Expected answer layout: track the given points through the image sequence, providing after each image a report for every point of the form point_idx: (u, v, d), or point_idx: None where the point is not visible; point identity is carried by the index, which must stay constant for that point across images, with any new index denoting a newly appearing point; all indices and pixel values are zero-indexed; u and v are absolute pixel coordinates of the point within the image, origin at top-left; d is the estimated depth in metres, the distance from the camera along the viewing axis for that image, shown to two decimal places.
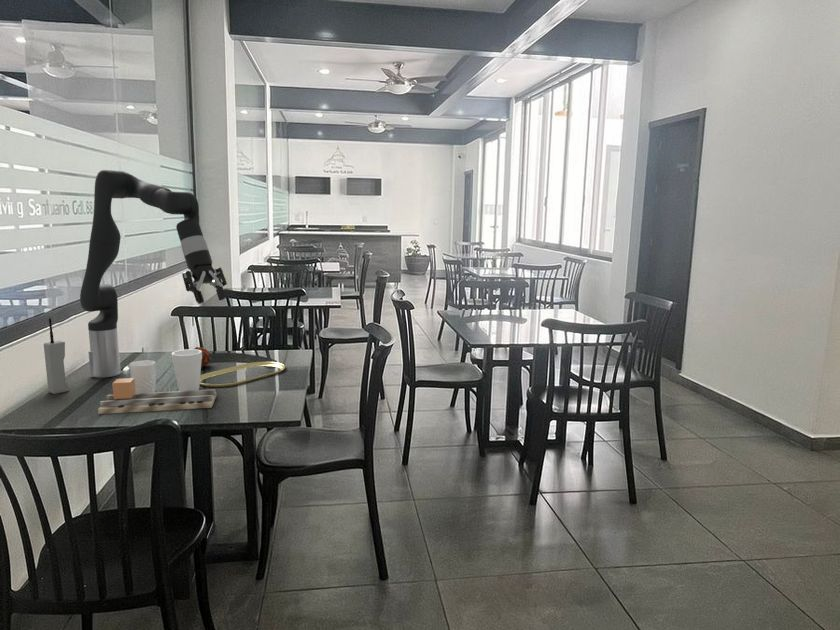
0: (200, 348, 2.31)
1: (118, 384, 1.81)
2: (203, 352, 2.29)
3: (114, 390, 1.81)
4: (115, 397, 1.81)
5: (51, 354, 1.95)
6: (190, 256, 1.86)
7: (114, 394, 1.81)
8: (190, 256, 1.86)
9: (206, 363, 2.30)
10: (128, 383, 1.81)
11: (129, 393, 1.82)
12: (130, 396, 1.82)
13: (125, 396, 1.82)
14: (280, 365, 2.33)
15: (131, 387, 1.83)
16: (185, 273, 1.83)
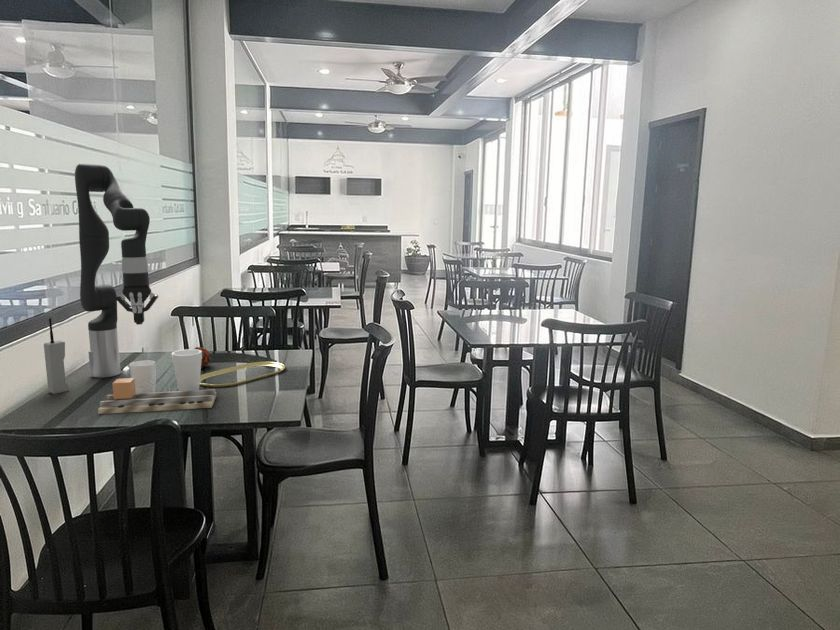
0: (200, 348, 2.31)
1: (118, 384, 1.81)
2: (203, 352, 2.29)
3: (114, 390, 1.81)
4: (115, 397, 1.81)
5: (51, 354, 1.95)
6: (123, 276, 1.91)
7: (114, 394, 1.81)
8: None
9: (206, 363, 2.30)
10: (128, 383, 1.81)
11: (129, 393, 1.82)
12: (130, 396, 1.82)
13: (125, 396, 1.82)
14: (280, 365, 2.33)
15: (131, 387, 1.83)
16: None
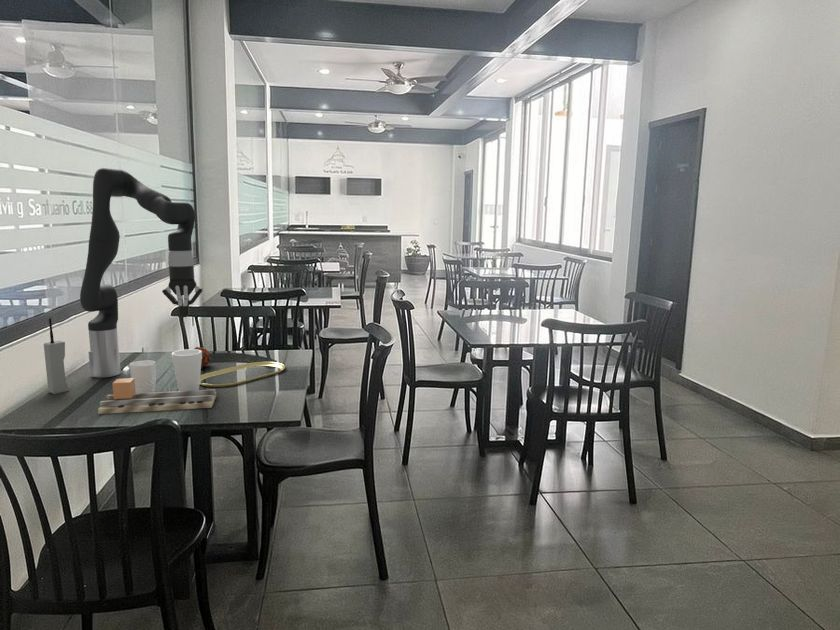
0: (200, 348, 2.31)
1: (118, 384, 1.81)
2: (203, 352, 2.29)
3: (114, 390, 1.81)
4: (115, 397, 1.81)
5: (51, 354, 1.95)
6: (169, 269, 1.94)
7: (114, 394, 1.81)
8: (169, 269, 1.94)
9: (206, 363, 2.30)
10: (128, 383, 1.81)
11: (129, 393, 1.82)
12: (130, 396, 1.82)
13: (125, 396, 1.82)
14: (280, 365, 2.33)
15: (131, 387, 1.83)
16: None
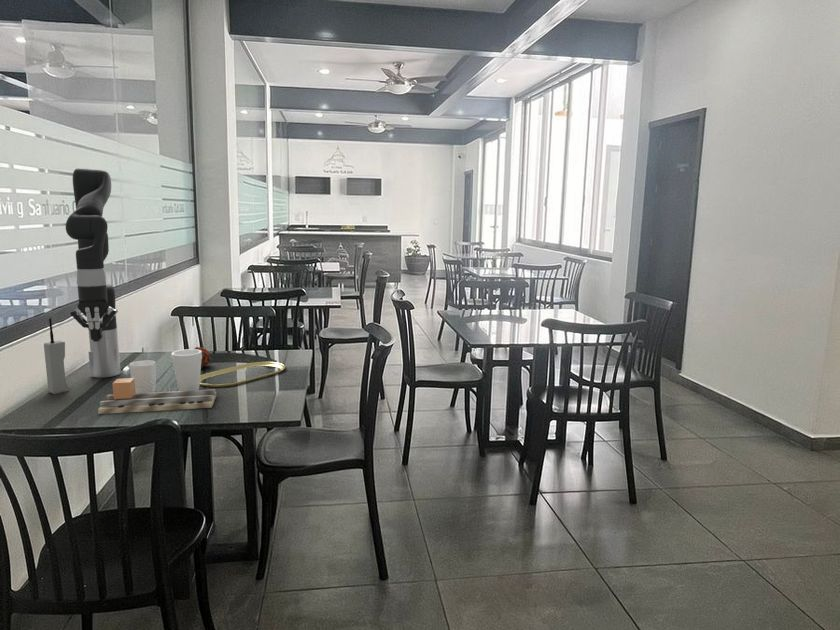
0: (200, 348, 2.31)
1: (118, 384, 1.81)
2: (203, 352, 2.29)
3: (114, 390, 1.81)
4: (115, 397, 1.81)
5: (51, 354, 1.95)
6: (78, 289, 1.76)
7: (114, 394, 1.81)
8: None
9: (206, 363, 2.30)
10: (128, 383, 1.81)
11: (129, 393, 1.82)
12: (130, 396, 1.82)
13: (125, 396, 1.82)
14: (280, 365, 2.33)
15: (131, 387, 1.83)
16: None
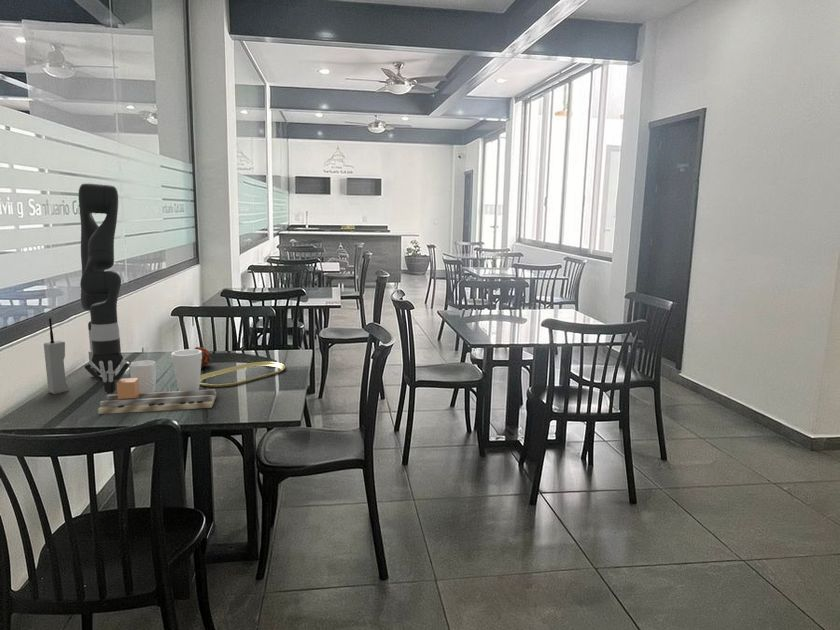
0: (200, 348, 2.31)
1: (122, 384, 1.81)
2: (203, 352, 2.29)
3: (118, 390, 1.81)
4: (119, 397, 1.81)
5: (51, 354, 1.95)
6: (92, 343, 1.79)
7: (118, 394, 1.81)
8: (92, 343, 1.79)
9: (206, 363, 2.30)
10: (132, 383, 1.82)
11: (133, 393, 1.82)
12: (134, 396, 1.82)
13: (129, 396, 1.82)
14: (280, 365, 2.33)
15: (135, 387, 1.83)
16: None
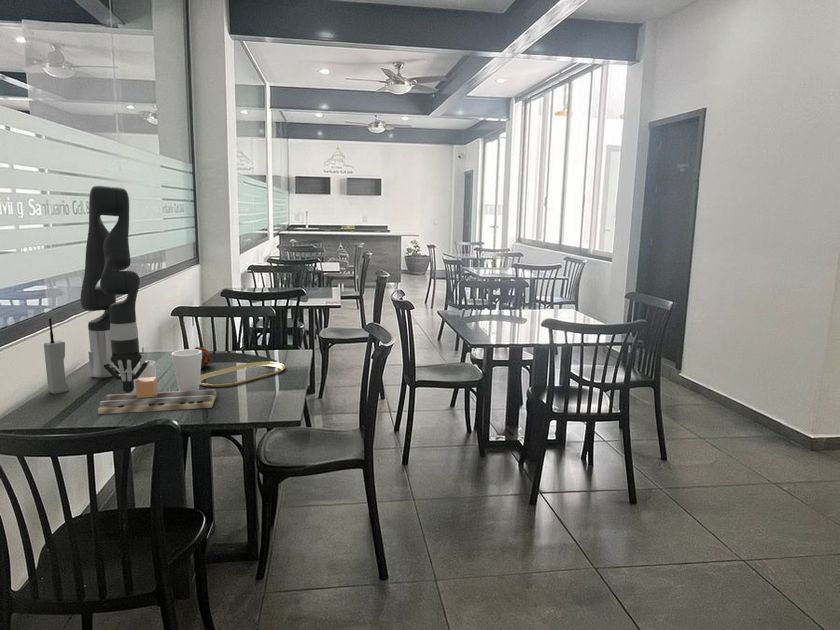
0: (200, 348, 2.31)
1: (141, 383, 1.82)
2: (203, 352, 2.29)
3: (137, 389, 1.82)
4: (138, 396, 1.82)
5: (51, 354, 1.95)
6: (111, 342, 1.80)
7: (137, 393, 1.82)
8: (111, 342, 1.80)
9: (206, 363, 2.30)
10: (151, 382, 1.83)
11: (152, 392, 1.83)
12: (153, 395, 1.83)
13: (148, 395, 1.83)
14: (280, 365, 2.33)
15: (154, 386, 1.84)
16: None
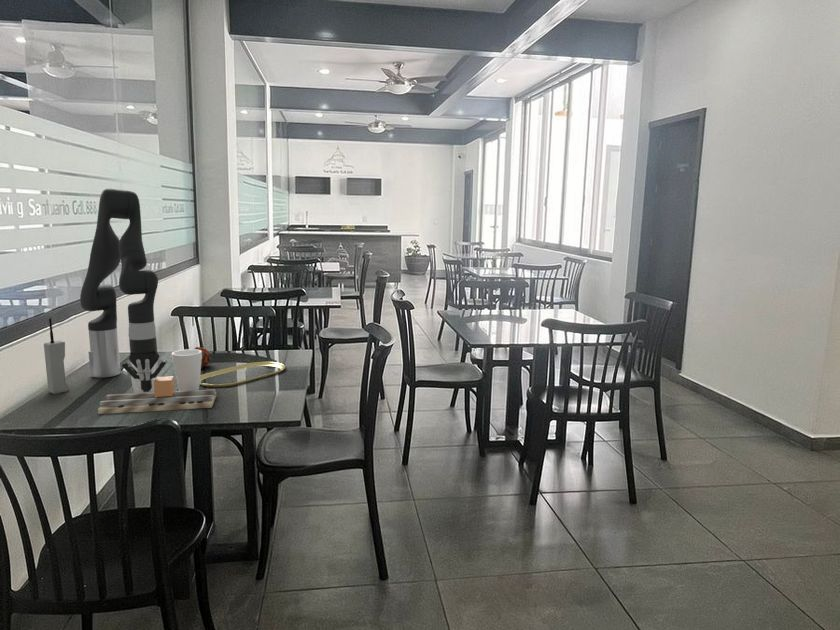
0: (200, 348, 2.31)
1: (159, 382, 1.83)
2: (203, 352, 2.29)
3: (155, 388, 1.83)
4: (156, 395, 1.83)
5: (51, 354, 1.95)
6: (129, 342, 1.81)
7: (155, 392, 1.83)
8: (129, 341, 1.81)
9: (206, 363, 2.30)
10: (169, 381, 1.84)
11: (170, 391, 1.84)
12: (170, 394, 1.84)
13: (166, 394, 1.84)
14: (280, 365, 2.33)
15: (171, 385, 1.85)
16: None
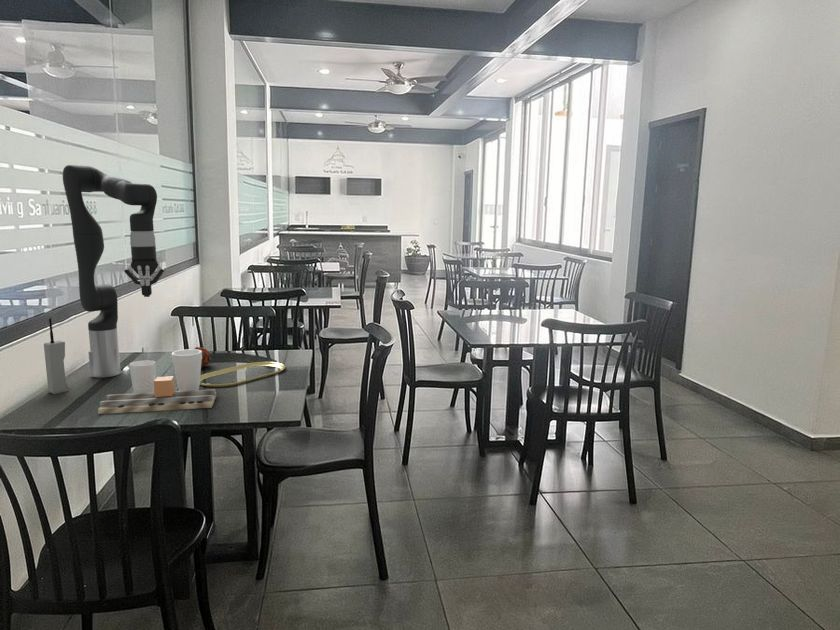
0: (200, 348, 2.31)
1: (159, 382, 1.83)
2: (203, 352, 2.29)
3: (155, 388, 1.83)
4: (156, 395, 1.83)
5: (51, 354, 1.95)
6: (131, 249, 1.98)
7: (155, 392, 1.83)
8: (131, 249, 1.98)
9: (206, 363, 2.30)
10: (169, 381, 1.84)
11: (170, 391, 1.84)
12: (171, 394, 1.84)
13: (166, 394, 1.84)
14: (280, 365, 2.33)
15: (171, 385, 1.85)
16: None
